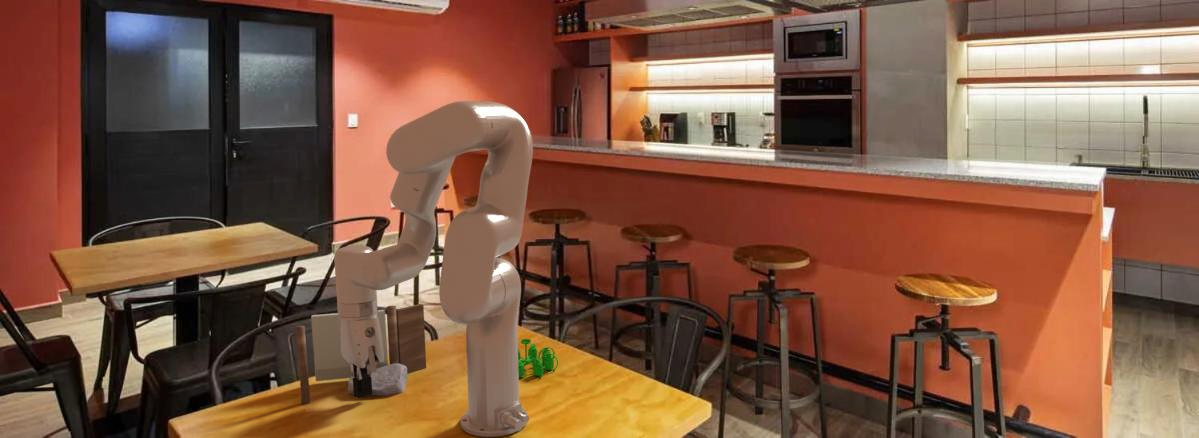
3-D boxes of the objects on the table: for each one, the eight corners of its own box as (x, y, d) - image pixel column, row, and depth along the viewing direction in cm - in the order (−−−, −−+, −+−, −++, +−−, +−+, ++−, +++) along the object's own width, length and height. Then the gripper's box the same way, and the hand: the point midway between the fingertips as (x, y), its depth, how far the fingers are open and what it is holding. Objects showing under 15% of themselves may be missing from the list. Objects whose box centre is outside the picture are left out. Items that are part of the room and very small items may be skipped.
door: (388, 372, 154) (384, 309, 151) (388, 374, 153) (384, 311, 150) (316, 379, 150) (311, 315, 148) (315, 381, 149) (311, 316, 146)
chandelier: (505, 356, 167) (504, 328, 166) (565, 360, 164) (565, 332, 163) (484, 379, 152) (483, 349, 151) (550, 384, 149) (549, 353, 148)
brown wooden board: (427, 368, 158) (424, 300, 156) (304, 405, 138) (298, 328, 136) (422, 366, 160) (419, 299, 157) (300, 402, 140) (294, 326, 137)
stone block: (405, 403, 144) (409, 376, 153) (402, 383, 142) (407, 357, 152) (346, 409, 142) (354, 381, 152) (342, 389, 141) (351, 363, 150)
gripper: (393, 311, 134) (398, 400, 137) (358, 297, 145) (363, 380, 148) (356, 320, 129) (362, 412, 132) (323, 304, 139) (329, 390, 142)
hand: (363, 395), depth 140 cm, fingers closed
